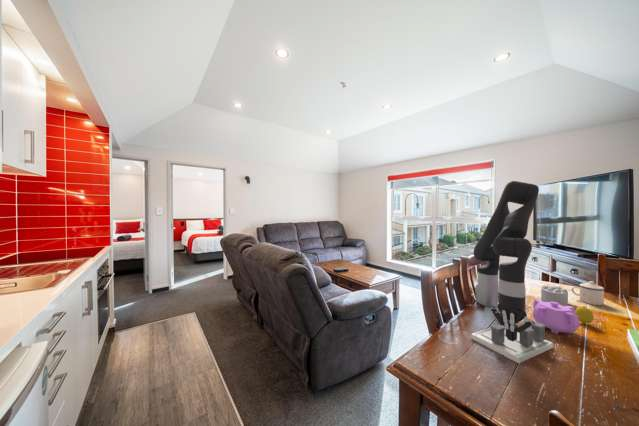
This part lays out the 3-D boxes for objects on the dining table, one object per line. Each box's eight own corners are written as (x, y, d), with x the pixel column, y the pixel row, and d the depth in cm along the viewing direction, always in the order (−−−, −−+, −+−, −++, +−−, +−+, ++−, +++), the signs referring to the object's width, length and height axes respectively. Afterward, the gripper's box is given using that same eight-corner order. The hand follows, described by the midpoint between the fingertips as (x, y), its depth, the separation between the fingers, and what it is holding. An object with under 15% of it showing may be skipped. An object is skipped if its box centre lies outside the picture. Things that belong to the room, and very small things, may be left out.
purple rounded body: (516, 319, 107) (516, 294, 107) (552, 318, 107) (552, 294, 107) (556, 341, 89) (556, 311, 89) (599, 340, 89) (599, 311, 89)
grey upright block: (490, 340, 85) (490, 325, 85) (497, 338, 87) (497, 323, 87) (498, 345, 83) (498, 329, 83) (505, 342, 84) (505, 327, 84)
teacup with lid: (604, 302, 125) (604, 282, 125) (604, 307, 119) (604, 285, 119) (572, 296, 134) (572, 277, 134) (570, 300, 129) (570, 280, 129)
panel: (471, 338, 91) (471, 333, 91) (504, 327, 99) (504, 322, 99) (518, 363, 76) (518, 357, 76) (552, 348, 85) (552, 342, 85)
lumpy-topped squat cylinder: (568, 302, 126) (568, 286, 126) (567, 308, 118) (567, 292, 118) (542, 296, 134) (542, 282, 134) (539, 302, 126) (540, 287, 126)
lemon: (597, 327, 99) (597, 309, 99) (582, 326, 100) (582, 308, 100) (585, 321, 104) (585, 304, 104) (571, 320, 106) (571, 303, 106)
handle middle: (518, 343, 84) (518, 327, 84) (524, 340, 85) (524, 325, 85) (527, 347, 81) (527, 331, 81) (534, 344, 83) (534, 329, 83)
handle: (530, 338, 87) (530, 323, 87) (536, 336, 88) (536, 321, 88) (540, 342, 84) (540, 327, 84) (545, 340, 86) (545, 325, 86)
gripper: (540, 297, 76) (540, 347, 76) (497, 285, 88) (497, 328, 89) (528, 301, 73) (528, 353, 73) (485, 288, 85) (485, 333, 86)
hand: (511, 339), depth 81 cm, fingers closed
